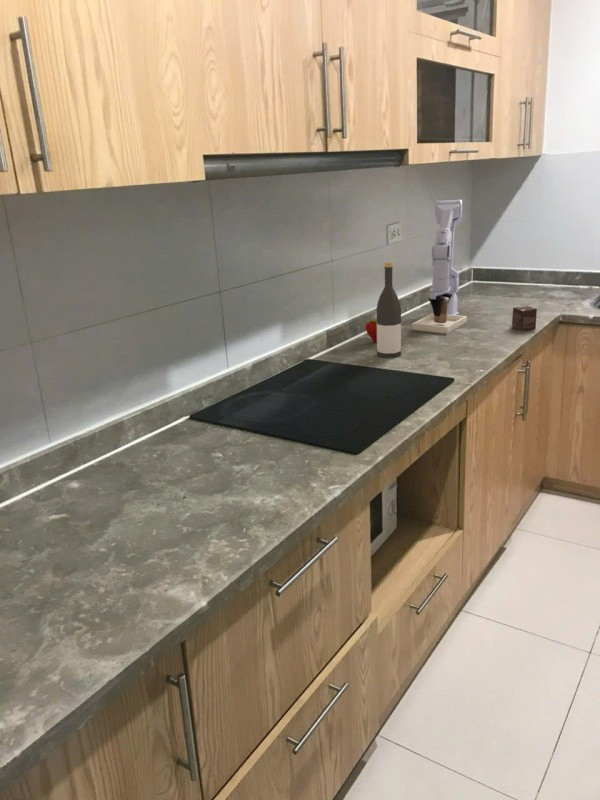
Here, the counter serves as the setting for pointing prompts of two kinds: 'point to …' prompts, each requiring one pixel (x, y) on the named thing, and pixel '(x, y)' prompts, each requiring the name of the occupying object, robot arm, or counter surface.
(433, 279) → the robot arm
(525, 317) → the box
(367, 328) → the strawberry
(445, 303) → the shaker
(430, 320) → the tray
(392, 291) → the wine bottle
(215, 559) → the counter surface
